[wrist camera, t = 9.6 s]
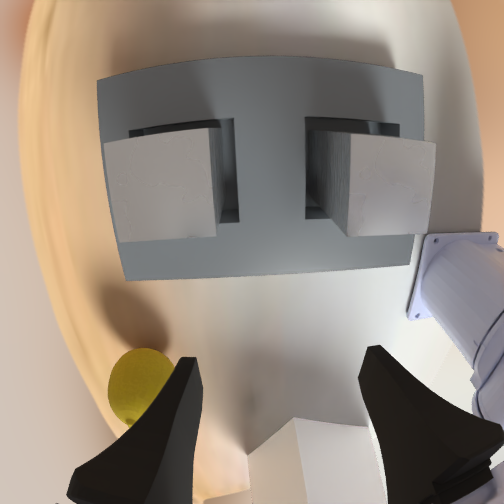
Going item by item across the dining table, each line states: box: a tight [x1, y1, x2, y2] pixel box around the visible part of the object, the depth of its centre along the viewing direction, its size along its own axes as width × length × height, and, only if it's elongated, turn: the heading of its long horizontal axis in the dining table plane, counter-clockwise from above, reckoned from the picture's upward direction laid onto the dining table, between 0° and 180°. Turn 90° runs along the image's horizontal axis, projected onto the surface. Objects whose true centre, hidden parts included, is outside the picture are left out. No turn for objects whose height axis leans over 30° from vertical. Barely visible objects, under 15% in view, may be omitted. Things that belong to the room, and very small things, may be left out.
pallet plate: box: [97, 56, 424, 281], centre depth 16 cm, size 18×12×3 cm, turn 92°
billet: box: [309, 130, 436, 237], centre depth 13 cm, size 4×4×7 cm
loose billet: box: [103, 128, 226, 243], centre depth 13 cm, size 4×4×7 cm
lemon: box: [108, 348, 175, 428], centre depth 19 cm, size 6×6×8 cm
